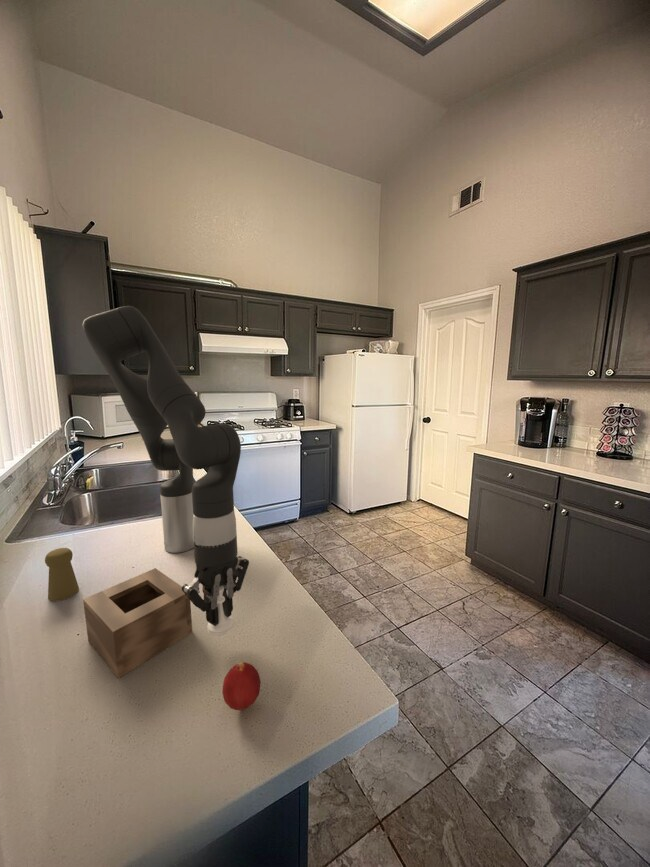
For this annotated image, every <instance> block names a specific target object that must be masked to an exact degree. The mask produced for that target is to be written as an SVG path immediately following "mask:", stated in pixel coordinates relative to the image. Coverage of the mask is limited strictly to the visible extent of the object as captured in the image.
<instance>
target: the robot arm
mask: <svg viewBox="0 0 650 867" xmlns="http://www.w3.org/2000/svg"><path fill="white" fill-rule="evenodd" d="M82 330H83V333H84V335H85V337H86V339H87V341H88V343H89V345H90V347H91V349H92V350H93V351H94V353H95V355H96V356H97V358H98V360H99V361H100V364H102V366H103V367H104V369H105V371H106V372H107V374H108V376H109V377H110V379H111V381H112V382H113V384H114V386H115V388H116V389H117V393H118V394H119V396H120V398H121V400H122V402H123V404H124V407H125V408H126V411H127V413H128V415H129V417H130V418H131V420H132V422H133V423H134V425H135V427H136V428H137V430H138V432H139V434H140V437H141V438H142V440H143V443H144V446H145V448H146V451H147V453H148V457H149V459H150V462H151V464H152V465H153V467H154V469H156V470H157V471H162V472H166V471H167V472H168V471H178V472H179V475H177V476H175V477H174V478H171V479H168V480H166V481H163V482H162V483H161V484H160V486H159V493H160V496H159V497H160V505H161V506H160V507H161V519H162V530H163V533H162V534H163V545H164V550H165V551H166V552H167V553H172V554H177V553H183V552H187V551H190V550H192V549H193V552H194V553H193V554H194V555H193V556H194V562H195V565H196V566H195V568H196V569H195V572H194V574H193V575H194V577H193V579H192V580H191V581H190V582H189V583H188V584H187V583H184V584H183V585H181V586H182V591H183V592H184V593H185V595H186V596H187V597H188V598H189V599H190V603H192V604H193V605H194V606H195V607H196V608H198V609H199V610H200V611H202V612H203V613H205V619H206V622H209V623H210V624H212V625H214V626H216V625H217V624H219V619H218V607H217V596H219V587H220V586H224V591H223V595H222V596H224V597H225V601H224V602H223V603H222V605H223V611H224V615H225V616H226V617H229V616H231V617H232V612H233V610H234V603H233V602H234V601H233V600H234V599H233V597H234V596H235V593H236V592H239V591H240V590H241V589H242V586H243V583H244V579H245V576H246V574H247V571H248V569H249V568H248V567H249V564H250V561H249V559H246V558H244V557H243V556H240V555H239V556H238V553H239V552H238V535H237V534H238V533H237V518H236V514H235V513H236V511H235V503H234V502H235V500H234V484H235V481H236V478H237V471H238V467H239V464H240V458H241V450H242V444H241V439H240V436H239V434H238V432H237V430H236V429H235V428H234V427H233V426H232V425H230V424H227V423H215V424H214V423H213V424H210V425H203V426H199V425H200V424H201V423H202V422H203V420H204V419H205V417H206V408H205V405H204V403H203V402H202V401H201V400H200V398H199V397H198V396H197V395H196V394H195V392H194V391H193V389H191V387H190V386H189V385H188V383H187V382H186V381H185V380H184V378H183V377H182V376H181V374H180V373H179V371H178V369H177V368H176V366H175V365H174V362H173V361H172V359H171V356H170V355H169V354H168V352H167V350H166V349H165V347H164V345H163V344H162V342H161V341H160V339H159V337H158V336H157V334H156V332H155V330H154V329H153V328H152V325H151V324H150V323H149V321H148V320H147V318H146V317H145V316H144V315H143V314H142V312H141V311H140V310H139V309H138V308H136V307H135V306H133V305H124V306H120V307H119V306H118V307H117V308H113V309H110V310H106V311H103V312H100V313H96V314H93V315H91V316H88V317H86V318H85V319H84V320H83V321H82ZM144 352H146V353H147V356H148V371H147V378H146V377H143V376H141V375H139V374H137V373H135V372H133V371H132V370H131V369H129V368H128V367H127V366H126V365H124V364H123V363H122V361H123V360H126V359H129V358H133V357H134V356H137V355H139V354H142V353H144ZM167 426H168V429H169V431H170V432H169V433H170V435H171V438H167V439H166V438H163V437H161V436H162V434H163V433H164V431H165V430H166V429H167ZM207 468H208V469H207ZM202 469H203V470H204V469H207V472H206V474H204V475H203V476H202V477H200V478H198V479H197V480H196V481H195V482H194V470H202ZM200 585H202V587H201V588H202V590H201V591H200ZM200 592H202V593H203V597H202V596H201V595H200Z"/></svg>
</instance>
